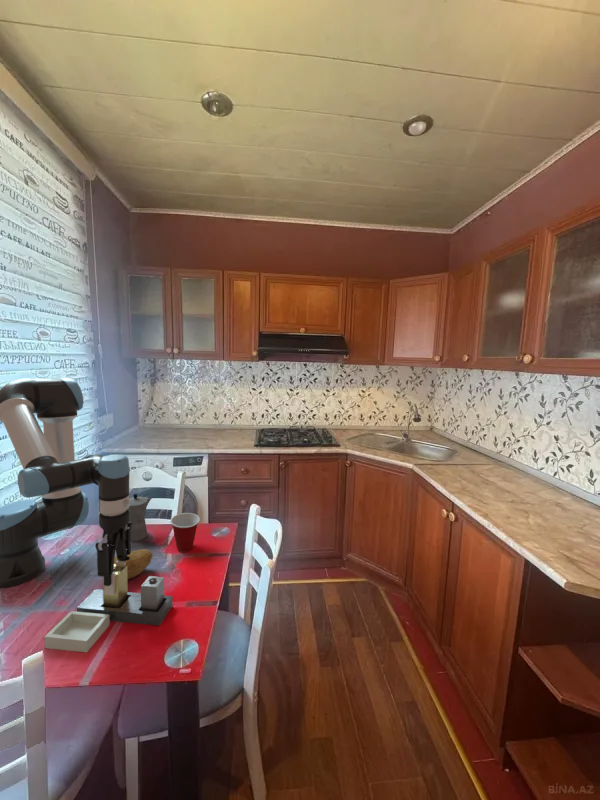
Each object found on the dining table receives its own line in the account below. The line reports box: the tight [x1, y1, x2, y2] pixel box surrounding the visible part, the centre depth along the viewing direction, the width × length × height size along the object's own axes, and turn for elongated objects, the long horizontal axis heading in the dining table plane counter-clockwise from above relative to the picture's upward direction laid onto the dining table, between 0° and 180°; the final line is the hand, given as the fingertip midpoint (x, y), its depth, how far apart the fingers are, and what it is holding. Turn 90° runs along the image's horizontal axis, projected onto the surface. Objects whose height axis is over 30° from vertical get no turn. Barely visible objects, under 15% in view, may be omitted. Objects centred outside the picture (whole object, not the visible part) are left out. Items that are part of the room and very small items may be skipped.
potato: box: [114, 548, 153, 580], centre depth 116 cm, size 10×14×8 cm
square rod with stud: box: [140, 575, 165, 612], centre depth 99 cm, size 4×4×10 cm
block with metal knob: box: [102, 564, 129, 609], centre depth 99 cm, size 4×4×10 cm
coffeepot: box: [128, 493, 153, 543], centre depth 140 cm, size 15×9×18 cm, turn 138°
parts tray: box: [44, 610, 110, 653], centre depth 90 cm, size 11×9×3 cm
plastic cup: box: [170, 512, 201, 553], centre depth 134 cm, size 11×11×12 cm
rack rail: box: [76, 588, 174, 627], centre depth 100 cm, size 24×8×3 cm, turn 86°
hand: (115, 587), depth 99 cm, fingers closed on block with metal knob, 4 cm apart
